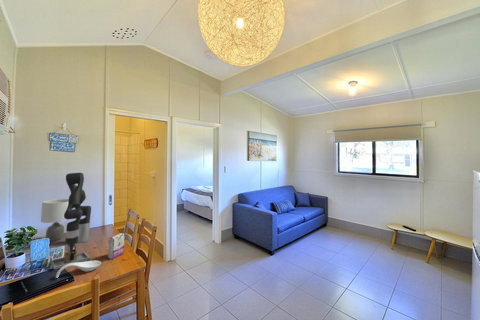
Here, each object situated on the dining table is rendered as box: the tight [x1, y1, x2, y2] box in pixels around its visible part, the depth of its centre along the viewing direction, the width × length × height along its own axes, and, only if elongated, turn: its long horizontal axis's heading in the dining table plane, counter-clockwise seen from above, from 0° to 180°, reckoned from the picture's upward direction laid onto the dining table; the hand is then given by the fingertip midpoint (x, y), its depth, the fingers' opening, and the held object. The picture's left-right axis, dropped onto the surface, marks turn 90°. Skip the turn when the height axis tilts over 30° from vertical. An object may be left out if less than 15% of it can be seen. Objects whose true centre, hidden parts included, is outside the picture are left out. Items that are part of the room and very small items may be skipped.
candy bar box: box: [107, 232, 126, 260], centre depth 156 cm, size 11×5×16 cm, turn 168°
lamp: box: [40, 198, 70, 242], centre depth 184 cm, size 21×21×37 cm
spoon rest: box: [55, 260, 102, 279], centre depth 132 cm, size 24×12×7 cm, turn 135°
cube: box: [64, 251, 78, 263], centre depth 144 cm, size 6×6×6 cm
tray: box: [50, 251, 91, 270], centre depth 144 cm, size 14×20×2 cm
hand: (70, 258), depth 144 cm, fingers open, 6 cm apart
